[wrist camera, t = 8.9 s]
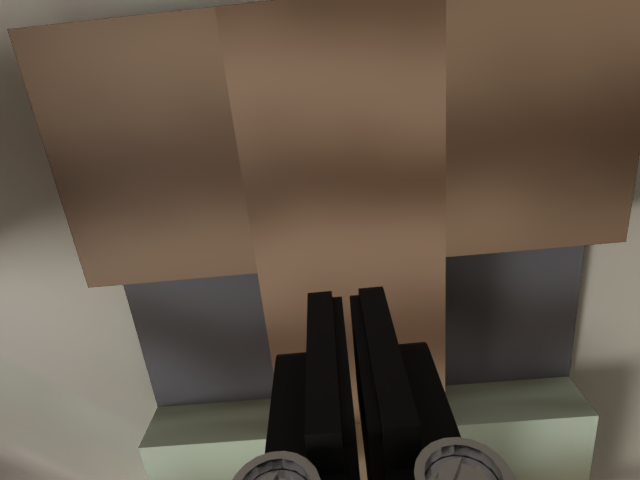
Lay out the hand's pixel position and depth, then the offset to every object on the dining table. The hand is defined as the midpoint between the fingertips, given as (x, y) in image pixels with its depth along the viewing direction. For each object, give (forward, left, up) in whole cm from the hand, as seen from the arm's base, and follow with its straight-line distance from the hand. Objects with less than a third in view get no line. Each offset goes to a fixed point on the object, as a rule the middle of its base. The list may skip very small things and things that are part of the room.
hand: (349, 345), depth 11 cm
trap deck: (+4, 0, -10) cm, 11 cm away
